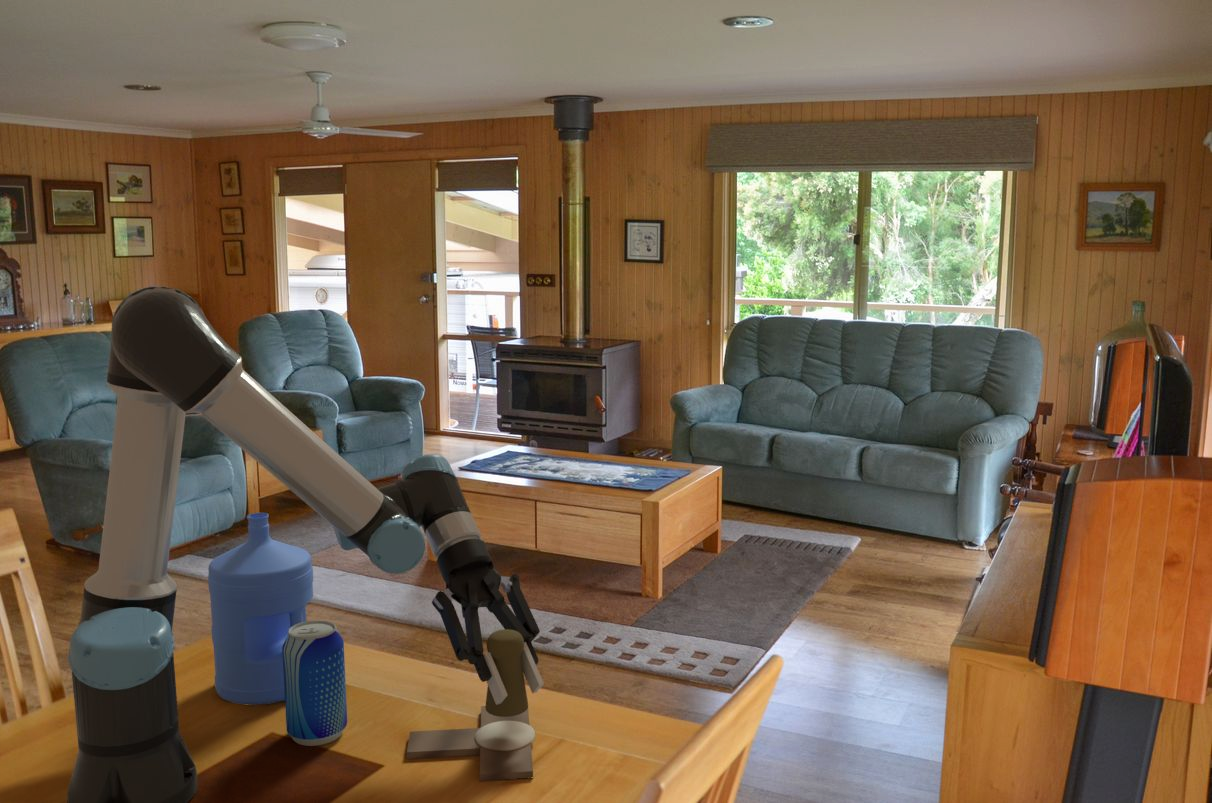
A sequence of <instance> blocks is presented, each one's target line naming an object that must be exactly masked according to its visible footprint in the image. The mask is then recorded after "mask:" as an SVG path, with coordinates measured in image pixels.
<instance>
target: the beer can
mask: <svg viewBox="0 0 1212 803" xmlns="http://www.w3.org/2000/svg"><path fill="white" fill-rule="evenodd" d="M288 634H289V635H288V637H287V638H286V640H285V642H284V644H283V646H282V654H283V672H284V691H285V700H284V705H285V706H284V707H285V709H284V710H285V722H286V723H285V724H286V733H287V734H288V735H289V736H290V737H291V738H292V740H293V741H294V742H295V743H296V744H298V745H301V746H306V747H314V746H315V747H316V746H321V745H322V746H323V745H327V744H329V743H332V742H334V741H336V740H338V739H339V738H340V737H341V735H342V734H343V731H344V730H345V729H346V727H347V725H348V708H347V690H346V689H347V686H346V665H345V664H346V662H345V644H344V643H345V642H344V639H343V638H344V637H342V635H341V634H340V633H339V631H338V629H337V625H336V624H335V623H334V622H332V621H329V620H322V619H321V620H319V619H317V620H316V619H315V620H308V621H307V620H306V622H302V623H299V624H296V625H294V626H292V627H291V628H290V629H289V630H288Z"/></svg>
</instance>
